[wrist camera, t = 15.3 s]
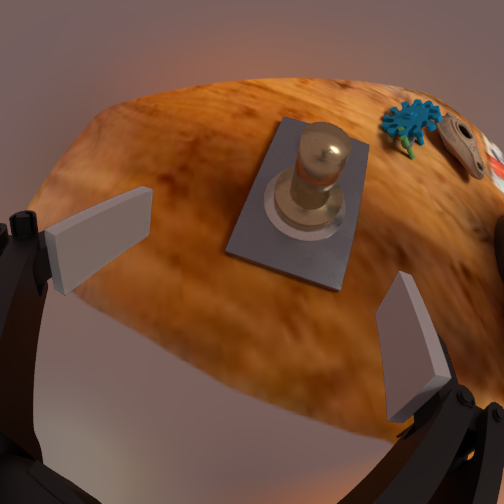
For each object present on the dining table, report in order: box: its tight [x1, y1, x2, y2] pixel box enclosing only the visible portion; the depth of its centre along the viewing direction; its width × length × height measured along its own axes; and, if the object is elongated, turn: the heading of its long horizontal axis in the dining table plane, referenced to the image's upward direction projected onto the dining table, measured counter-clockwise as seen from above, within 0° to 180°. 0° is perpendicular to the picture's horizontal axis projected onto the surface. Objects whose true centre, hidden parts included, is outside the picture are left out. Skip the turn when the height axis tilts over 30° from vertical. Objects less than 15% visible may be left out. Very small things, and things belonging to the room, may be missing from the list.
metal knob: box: [273, 122, 352, 232], centre depth 24 cm, size 7×7×10 cm
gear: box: [382, 99, 442, 159], centre depth 32 cm, size 11×6×10 cm
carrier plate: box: [225, 116, 369, 292], centre depth 29 cm, size 12×20×2 cm, turn 160°
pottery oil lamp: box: [436, 112, 485, 180], centre depth 31 cm, size 9×12×7 cm
